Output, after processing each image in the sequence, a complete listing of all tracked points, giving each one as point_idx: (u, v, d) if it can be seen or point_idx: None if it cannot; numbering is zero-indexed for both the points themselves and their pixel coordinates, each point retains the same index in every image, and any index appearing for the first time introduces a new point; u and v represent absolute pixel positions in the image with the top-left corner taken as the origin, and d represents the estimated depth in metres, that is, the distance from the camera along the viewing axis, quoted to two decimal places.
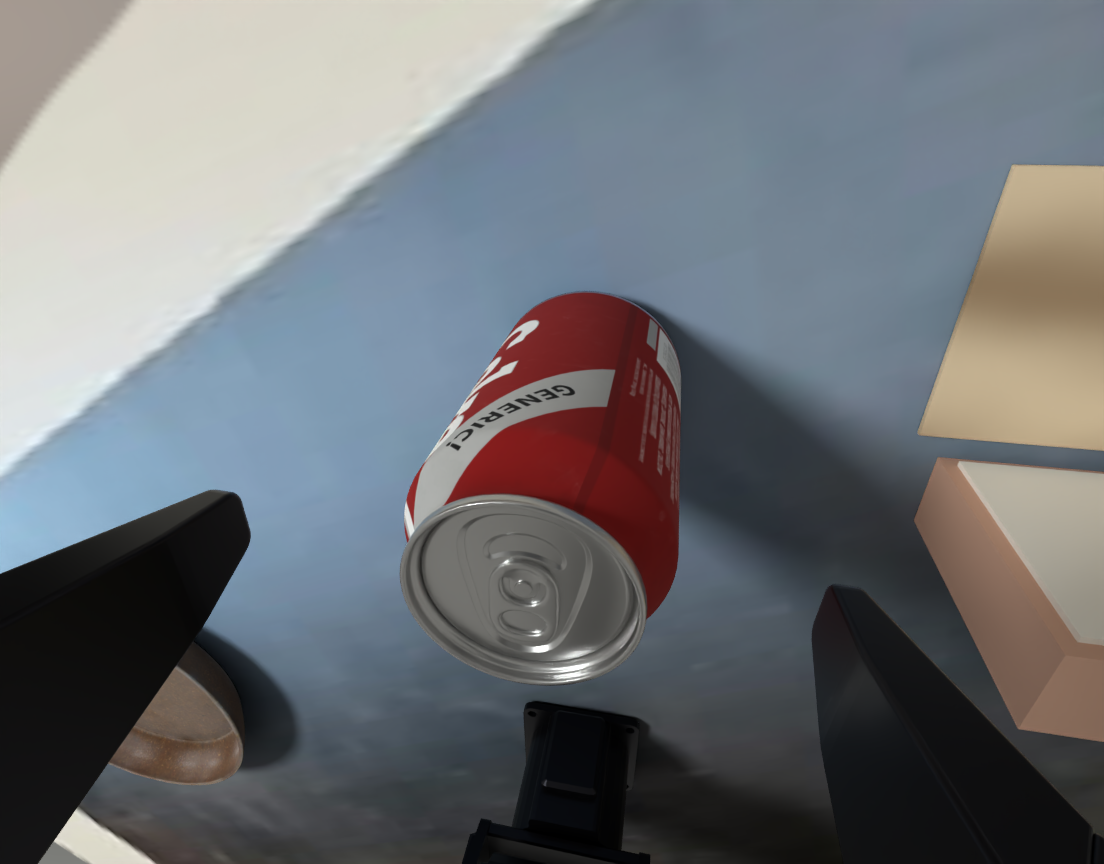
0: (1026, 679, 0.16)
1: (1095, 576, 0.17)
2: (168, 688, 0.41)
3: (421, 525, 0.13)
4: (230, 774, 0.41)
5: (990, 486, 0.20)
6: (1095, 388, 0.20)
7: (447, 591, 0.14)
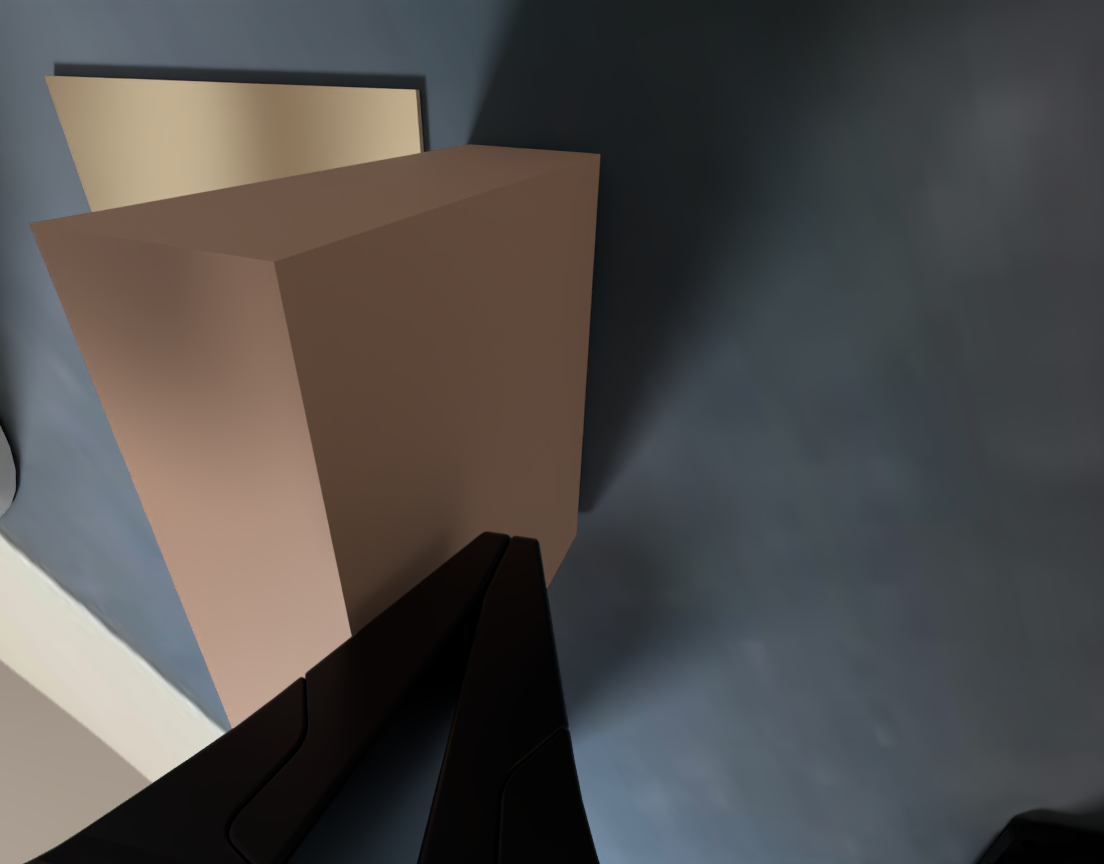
0: None
1: None
2: None
3: None
4: None
5: None
6: None
7: None
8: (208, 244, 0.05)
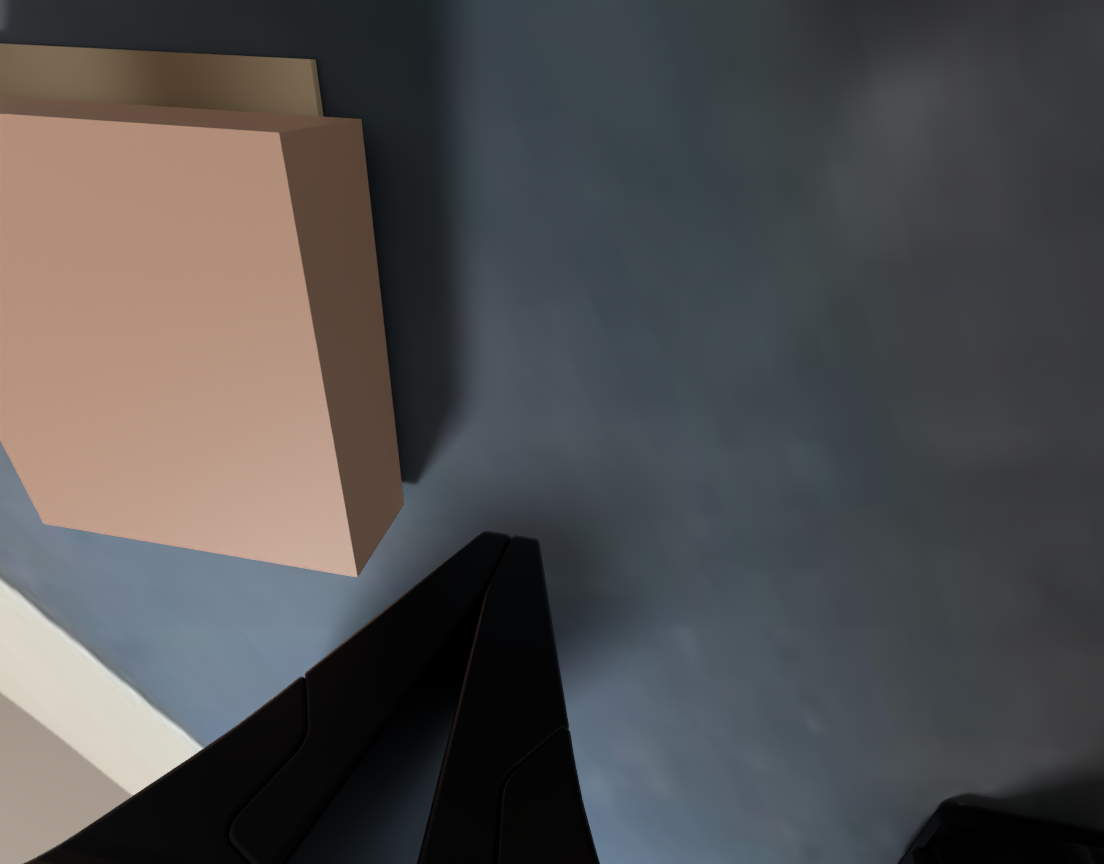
0: None
1: None
2: None
3: None
4: None
5: None
6: None
7: None
8: None
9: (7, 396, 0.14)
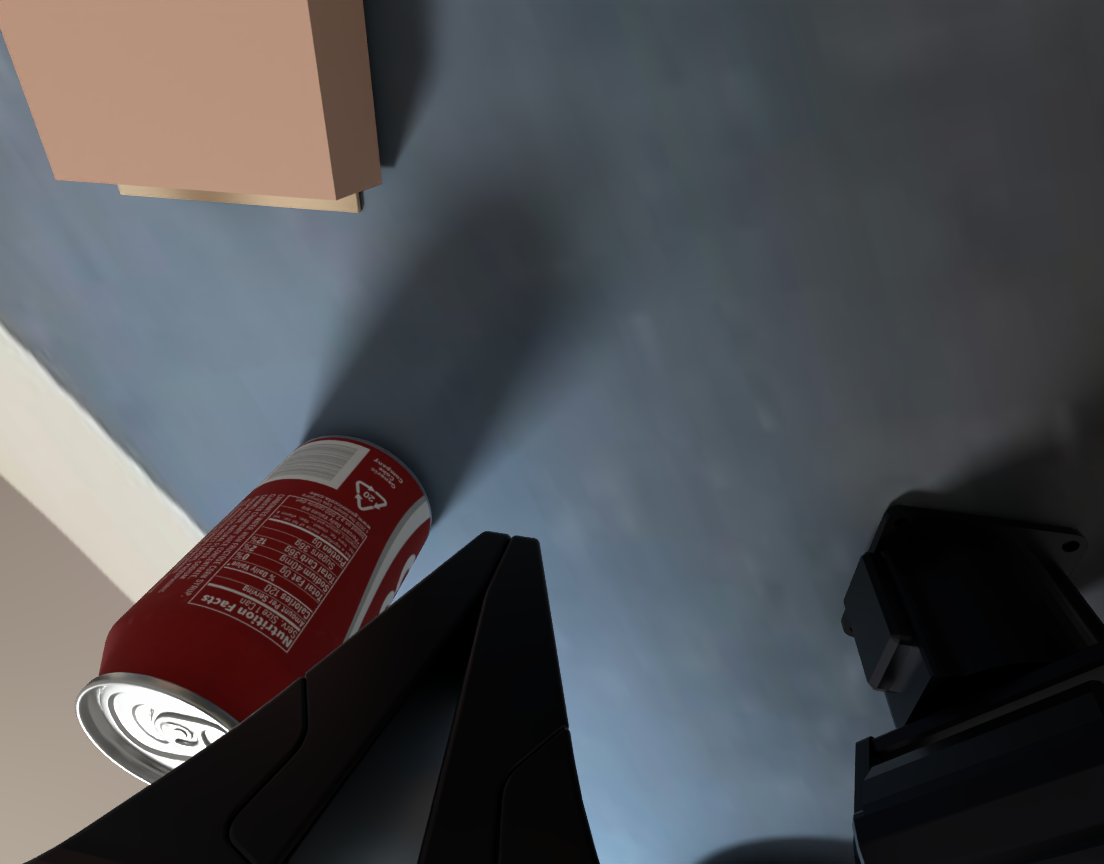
0: None
1: None
2: None
3: (134, 774, 0.18)
4: None
5: None
6: None
7: None
8: None
9: (24, 18, 0.16)
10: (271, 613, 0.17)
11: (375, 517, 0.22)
